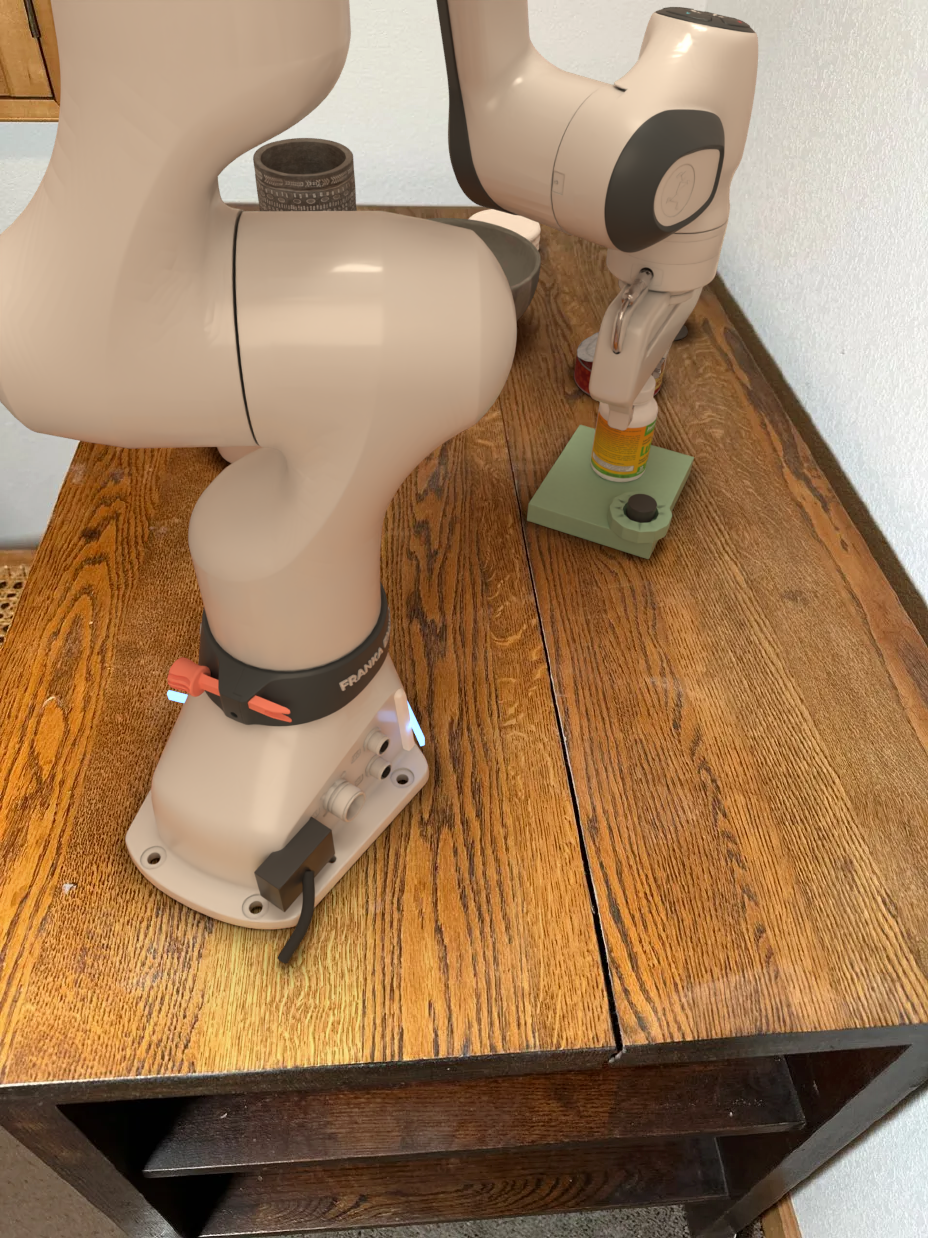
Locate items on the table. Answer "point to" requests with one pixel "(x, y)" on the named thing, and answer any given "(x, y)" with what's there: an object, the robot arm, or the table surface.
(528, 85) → the robot arm
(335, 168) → the planter
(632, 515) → the button
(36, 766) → the table surface
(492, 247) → the bowl
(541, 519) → the scale
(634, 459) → the supplement bottle
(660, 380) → the canned food
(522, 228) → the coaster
